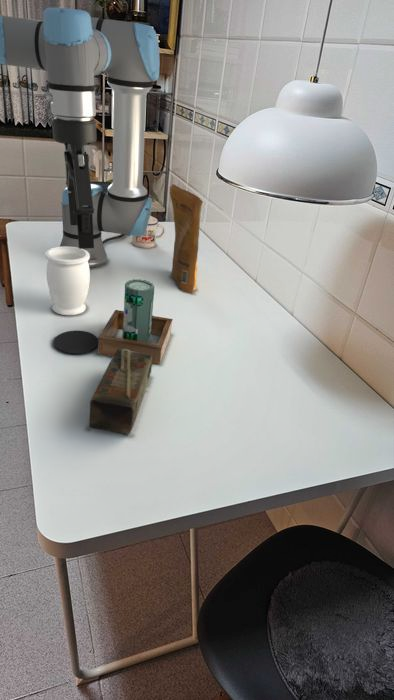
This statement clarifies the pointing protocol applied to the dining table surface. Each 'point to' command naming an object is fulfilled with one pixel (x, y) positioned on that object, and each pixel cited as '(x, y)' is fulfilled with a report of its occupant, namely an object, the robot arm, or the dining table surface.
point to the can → (138, 310)
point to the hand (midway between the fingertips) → (81, 235)
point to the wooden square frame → (111, 344)
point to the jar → (68, 279)
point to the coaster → (76, 342)
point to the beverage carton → (120, 391)
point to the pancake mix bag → (185, 237)
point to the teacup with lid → (148, 234)
